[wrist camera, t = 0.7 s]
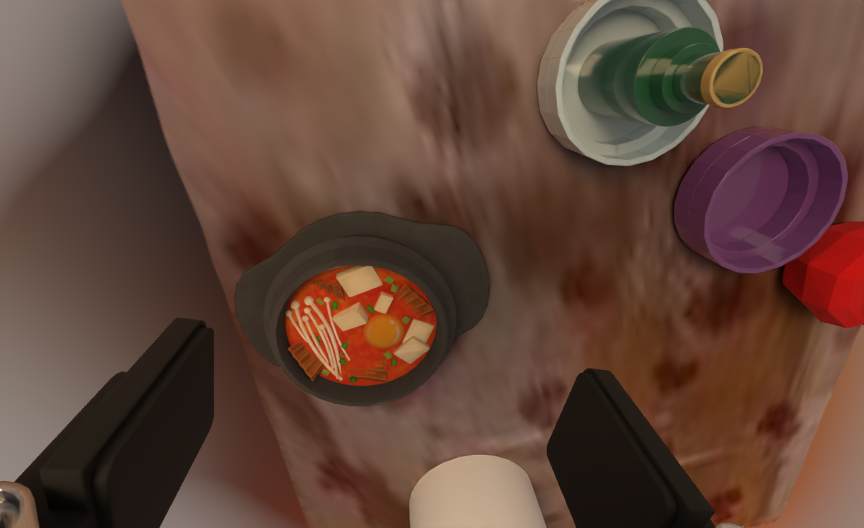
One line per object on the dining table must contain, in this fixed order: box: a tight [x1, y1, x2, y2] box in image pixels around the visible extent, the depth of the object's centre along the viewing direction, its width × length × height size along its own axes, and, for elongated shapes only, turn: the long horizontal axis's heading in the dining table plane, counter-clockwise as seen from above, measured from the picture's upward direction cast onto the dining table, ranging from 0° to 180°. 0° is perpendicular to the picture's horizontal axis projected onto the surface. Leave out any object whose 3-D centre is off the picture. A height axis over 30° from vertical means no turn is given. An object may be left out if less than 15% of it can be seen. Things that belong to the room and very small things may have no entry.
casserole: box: [234, 211, 489, 406], centre depth 38 cm, size 25×19×8 cm
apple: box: [782, 222, 864, 328], centre depth 41 cm, size 11×11×10 cm
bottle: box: [578, 27, 763, 127], centre depth 29 cm, size 6×6×14 cm
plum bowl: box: [674, 127, 848, 273], centre depth 39 cm, size 13×13×5 cm
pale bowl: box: [537, 0, 723, 166], centre depth 33 cm, size 13×13×5 cm
